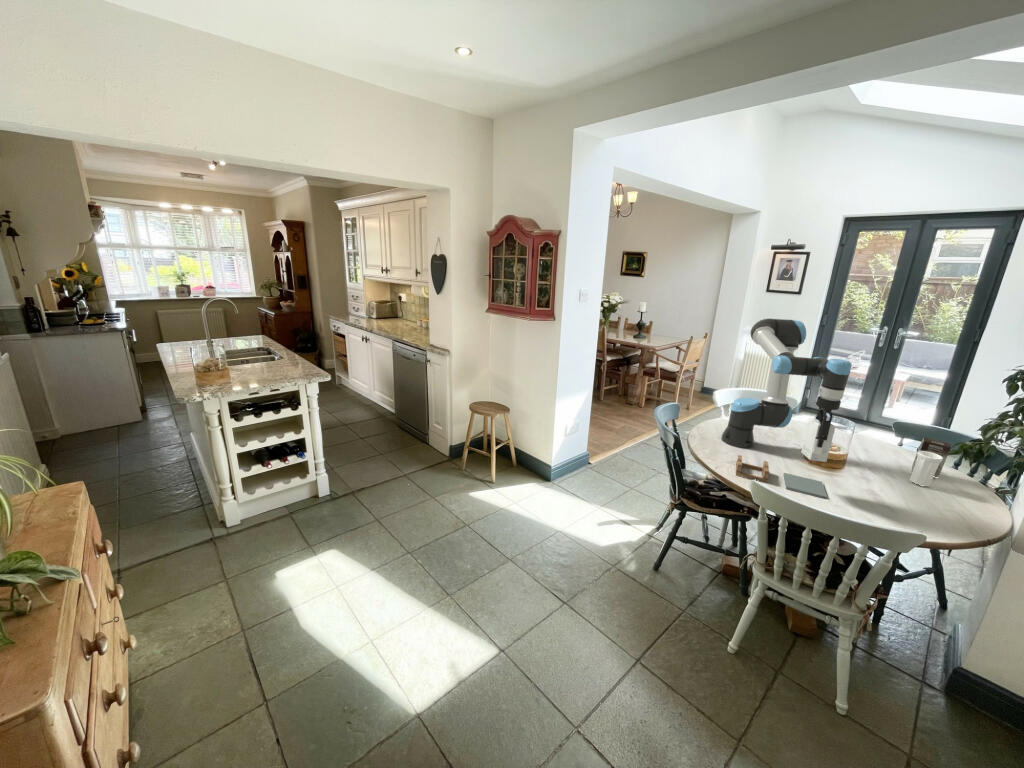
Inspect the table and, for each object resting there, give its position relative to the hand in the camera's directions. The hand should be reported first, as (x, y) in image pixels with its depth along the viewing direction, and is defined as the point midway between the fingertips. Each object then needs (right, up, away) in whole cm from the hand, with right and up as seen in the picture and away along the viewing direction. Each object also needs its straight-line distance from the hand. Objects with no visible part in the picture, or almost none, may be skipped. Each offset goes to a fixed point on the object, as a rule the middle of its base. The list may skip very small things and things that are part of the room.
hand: (814, 449), depth 171 cm
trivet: (-1, -17, +5) cm, 18 cm away
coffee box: (+67, -15, +22) cm, 72 cm away
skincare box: (0, -4, +1) cm, 4 cm away
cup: (+55, -17, +12) cm, 59 cm away
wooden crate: (-18, -13, +14) cm, 27 cm away
